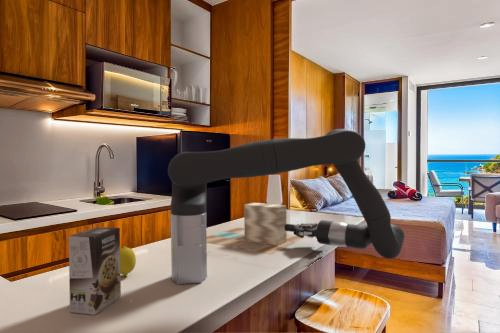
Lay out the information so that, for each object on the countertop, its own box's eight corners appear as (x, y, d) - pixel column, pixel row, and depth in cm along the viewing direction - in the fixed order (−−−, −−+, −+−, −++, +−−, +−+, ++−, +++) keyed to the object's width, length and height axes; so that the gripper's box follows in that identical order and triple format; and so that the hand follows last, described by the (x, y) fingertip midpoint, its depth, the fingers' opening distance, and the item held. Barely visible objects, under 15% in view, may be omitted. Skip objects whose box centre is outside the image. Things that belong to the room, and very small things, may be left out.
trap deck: (306, 241, 124) (306, 237, 124) (271, 259, 103) (271, 254, 103) (237, 230, 142) (237, 227, 142) (195, 244, 121) (195, 240, 121)
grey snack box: (96, 315, 67) (94, 236, 66) (68, 312, 68) (66, 235, 68) (122, 296, 76) (121, 227, 75) (97, 294, 77) (96, 226, 77)
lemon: (123, 281, 86) (122, 250, 85) (109, 277, 88) (109, 247, 88) (140, 274, 90) (139, 245, 90) (127, 270, 93) (126, 242, 93)
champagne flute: (274, 234, 135) (274, 175, 134) (263, 231, 140) (263, 175, 139) (285, 232, 139) (285, 175, 139) (274, 229, 144) (274, 174, 144)
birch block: (286, 241, 118) (286, 205, 117) (278, 245, 113) (278, 207, 112) (253, 236, 126) (253, 202, 125) (244, 240, 121) (244, 204, 120)
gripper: (341, 218, 110) (294, 213, 120) (326, 225, 99) (276, 219, 109) (341, 240, 110) (294, 234, 120) (326, 250, 99) (276, 242, 109)
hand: (285, 227), depth 114 cm, fingers closed
